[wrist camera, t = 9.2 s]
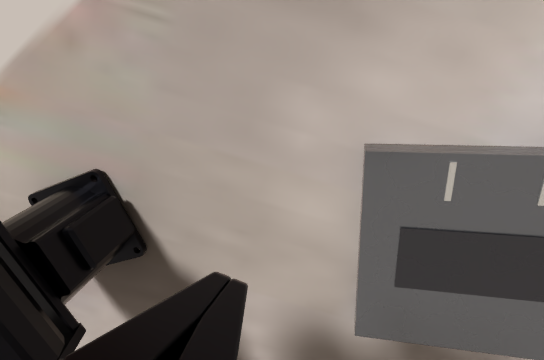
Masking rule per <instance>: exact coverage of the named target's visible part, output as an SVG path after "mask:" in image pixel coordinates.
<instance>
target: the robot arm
mask: <svg viewBox="0 0 544 360" xmlns="http://www.w3.org/2000/svg"><path fill="white" fill-rule="evenodd" d="M95 176H96V177H97V179H96V178H95ZM28 200H29V202H30V204H31V205H32V206H31V207H29V208H27V209H26V210H24V211H22V212H20V213H19V214H17V215H15V216H13V217H11V218H10V219H8V220H6V221H4V222H3V223H2V222H1V221H0V360H237V356H238V349H239V342H240V336H241V329H242V322H243V316H244V309H245V302H246V296H247V289H248V285H247V284H246V283H244V282H242V281H239V280H237V279H231V278H230V277H229V276H226V275H224V274H221V273H219V272H213V273H211V274H209V275H208V276H206V277H204V278H202V279H201V280H199V281H197V282H195V283H194V284H192V285H190V286H188V287H187V288H185V289H183V290H181V291H180V292H178V293H176V294H174V295H173V296H171V297H169V298H167V299H165V300H164V301H162V302H160V303H158V304H157V305H155V306H153V307H151V308H150V309H148V310H146V311H144V312H143V313H141V314H139V315H137V316H136V317H134V318H132V319H130V320H129V321H127V322H125V323H123V324H122V325H120V326H118V327H116V328H114V329H113V330H111V331H109V332H107V333H106V334H104V335H102V336H100V337H99V338H97V339H95V340H93V341H92V342H90V343H88V344H86V345H85V346H83V347H81V348H79V349H78V350H76V351H75V349H76V347H77V346H78V344H79V342H80V340H81V339H82V337H83V335H84V334H85V332H86V329H85V328H84V327H83V325H82V324H81V323H78V322H77V321H76V319H75V318H74V317H73V315H72V314H71V313H70V311H69V310H68V309H67V307H66V306H65V304H66V303H67V302H68V301H69V300H70V299H71V298H72V297H73V296H74V295H75V294H76V293H77V292H78V291H79V290H81V289H82V288H83V287H84V286H85V285H86V284H87V283H88V282H89V281H90V280H91V279H92V278H93V277H94V276H95V275H96V274H97V273H98V272H99V271H100V270H101V269H102V268H103V267H104V266H105V265H109V264H113V263H117V262H121V261H125V260H128V259H132V258H136V257H140V256H142V255H143V254H144V253H145V252H146V250H147V247H146V245H145V243H144V242H143V240H142V238H141V237H140V235H139V233H138V232H137V230H136V228H135V226H134V225H133V223H132V221H131V220H130V218H129V216H128V215H127V213H126V211H125V209H124V208H123V206H122V204H121V203H120V201H119V199H118V198H117V196H116V194H115V192H114V191H113V189H112V187H111V186H110V184H109V182H108V181H107V179H106V177H105V175H104V174H103V173H102V171H100V170H98V169H93V170H91V171H88V172H86V173H83V174H80V175H78V176H75V177H73V178H70V179H68V180H65V181H62V182H60V183H57V184H55V185H52V186H50V187H47V188H44V189H42V190H39V191H37V192H34V193H33V194H31V195H29V197H28ZM138 248H139V249H140V250H139V249H138Z"/></svg>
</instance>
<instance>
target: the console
mask: <svg viewBox="0 0 544 360" xmlns="http://www.w3.org/2000/svg"><path fill="white" fill-rule="evenodd" d="M355 336H362V337H370V338H377V339H385V340H392V341H400V342H407V343H414V344H422V345H429V346H437V347H444V348H452V349H459V350H467V351H474V352H482V353H489V354H497V355H504V356H512V357H519V358H527V359H534V360H544V147H505V146H454V145H402V144H365V147H364V165H363V184H362V202H361V220H360V238H359V257H358V275H357V293H356V311H355Z"/></svg>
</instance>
